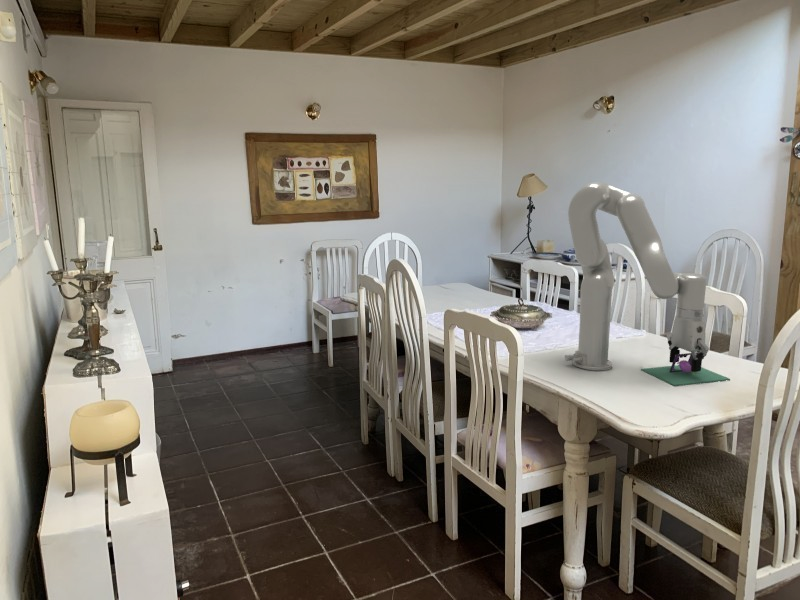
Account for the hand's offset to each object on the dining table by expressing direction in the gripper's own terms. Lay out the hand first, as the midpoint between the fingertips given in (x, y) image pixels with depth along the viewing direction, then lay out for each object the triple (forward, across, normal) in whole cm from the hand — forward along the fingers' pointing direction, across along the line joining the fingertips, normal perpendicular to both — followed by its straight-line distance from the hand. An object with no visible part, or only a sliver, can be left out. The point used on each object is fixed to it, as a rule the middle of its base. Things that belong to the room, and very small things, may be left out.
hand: (684, 366), depth 189 cm
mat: (+3, 0, 0) cm, 3 cm away
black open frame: (+3, 0, -1) cm, 3 cm away
